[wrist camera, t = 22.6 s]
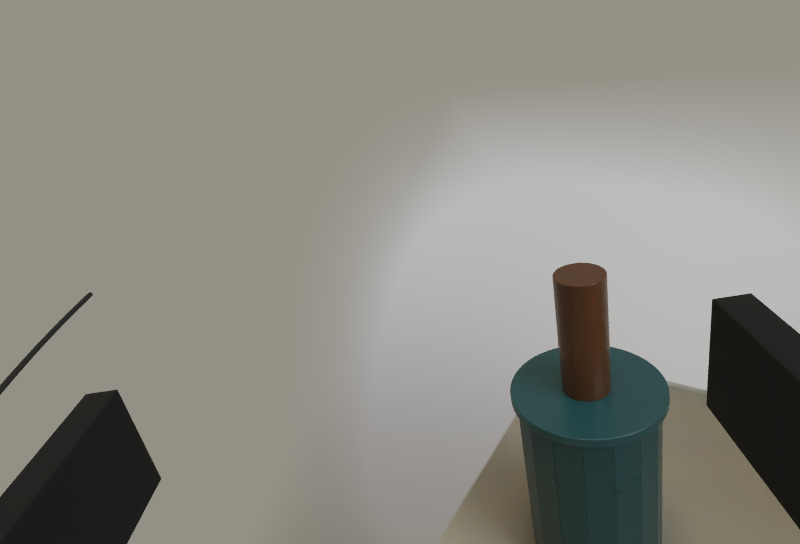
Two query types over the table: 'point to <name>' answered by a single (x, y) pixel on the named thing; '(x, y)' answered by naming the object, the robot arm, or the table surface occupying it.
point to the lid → (588, 374)
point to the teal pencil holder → (595, 491)
